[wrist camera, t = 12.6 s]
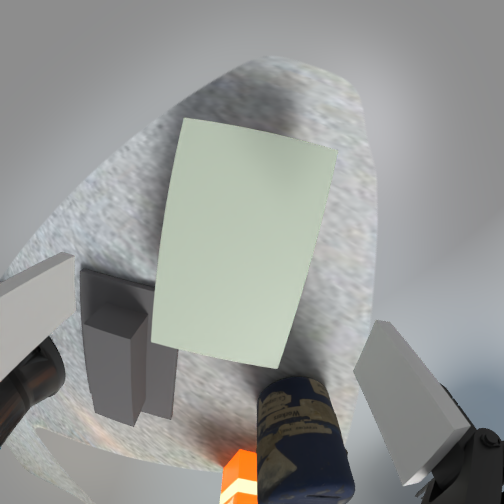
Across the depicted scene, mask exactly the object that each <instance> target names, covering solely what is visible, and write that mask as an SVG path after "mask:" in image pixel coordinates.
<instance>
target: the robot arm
mask: <svg viewBox="0 0 504 504" xmlns="http://www.w3.org/2000/svg"><path fill="white" fill-rule="evenodd" d="M75 312H76V306H75V256H74V255H71V254H67V253H64V252H61V253H58V254H56V255H54V256H52V257H50V258H48V259H46V260H44V261H42V262H40V263H38V264H36V265H34V266H32V267H30V268H28V269H26V270H24V271H22V272H20V273H18V274H16V275H14V276H13V277H11V278H9V279H7V280H5V281H3V282H1V283H0V449H1V446H2V445H3V443H4V442H5V440H6V439H7V438H8V436H9V435H10V434H11V432H12V431H13V429H14V428H15V427H16V425H17V424H18V423H19V422H20V420H21V419H22V418H23V416H24V415H25V414H26V412H27V411H28V410H29V409H30V408H31V407H32V406H33V405H35V404H37V403H39V402H40V401H42V400H44V399H46V398H47V397H51V396H53V395H55V394H56V393H57V392H58V391H59V389H60V388H61V387H62V385H63V384H64V381H65V369H64V365H63V362H62V360H61V357H60V355H59V353H58V351H57V349H56V348H55V346H54V344H53V343H52V341H51V340H50V338H49V337H48V336H49V335H50V334H51V333H52V332H53V331H54V330H55V329H57V328H58V327H59V326H60V325H61V324H62V323H63V322H64V321H66V320H67V319H68V318H69V317H70V316H71V315H72V314H74V313H75ZM353 372H354V374H355V376H356V378H357V380H358V383H359V385H360V387H361V389H362V391H363V394H364V396H365V398H366V400H367V402H368V405H369V407H370V409H371V412H372V414H373V416H374V418H375V421H376V423H377V425H378V428H379V430H380V432H381V434H382V437H383V439H384V442H385V444H386V446H387V449H388V451H389V454H390V456H391V458H392V461H393V463H394V465H395V468H396V471H397V473H398V476H399V478H400V481H401V483H402V485H403V486H405V485H410V484H414V483H418V482H421V480H423V479H424V478H425V477H426V476H427V475H428V474H429V473H430V472H432V474H433V476H434V478H433V479H432V480H431V481H430V482H428V484H427V485H425V486H424V487H423V488H422V489H421V490H420V491H419V492H418V493H417V494H416V495H415V497H418V496H419V495H420V494H422V493H423V492H424V491H426V492H425V494H424V496H423V497H422V498H421V499H423V500H422V503H421V504H504V492H502V486H503V485H504V441H501V439H500V438H499V436H498V435H497V434H496V433H495V432H493V431H492V430H490V429H486V428H479V429H478V430H476V428H475V427H474V425H473V424H472V422H471V421H470V420H469V418H468V417H467V415H466V414H465V413H464V411H463V410H462V409H461V407H460V406H458V403H457V402H456V401H455V399H453V398H452V395H451V394H450V393H449V391H448V390H447V389H446V388H445V387H444V386H443V385H442V384H440V383H439V382H438V381H437V379H436V378H435V377H434V376H433V374H432V373H431V372H430V371H429V369H428V368H427V367H426V365H425V364H424V363H423V362H422V360H421V359H420V358H419V357H418V355H417V354H416V353H415V352H414V350H413V349H412V348H411V347H410V345H409V344H408V343H407V342H406V341H405V340H404V338H403V337H402V336H401V335H400V333H399V332H398V331H397V330H396V329H395V327H394V326H393V325H392V324H391V323H390V322H386V321H379V320H376V321H375V323H374V325H373V328H372V330H371V333H370V335H369V337H368V340H367V342H366V344H365V347H364V349H363V351H362V353H361V355H360V358H359V360H358V362H357V364H356V366H355V368H354V370H353Z"/></svg>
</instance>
